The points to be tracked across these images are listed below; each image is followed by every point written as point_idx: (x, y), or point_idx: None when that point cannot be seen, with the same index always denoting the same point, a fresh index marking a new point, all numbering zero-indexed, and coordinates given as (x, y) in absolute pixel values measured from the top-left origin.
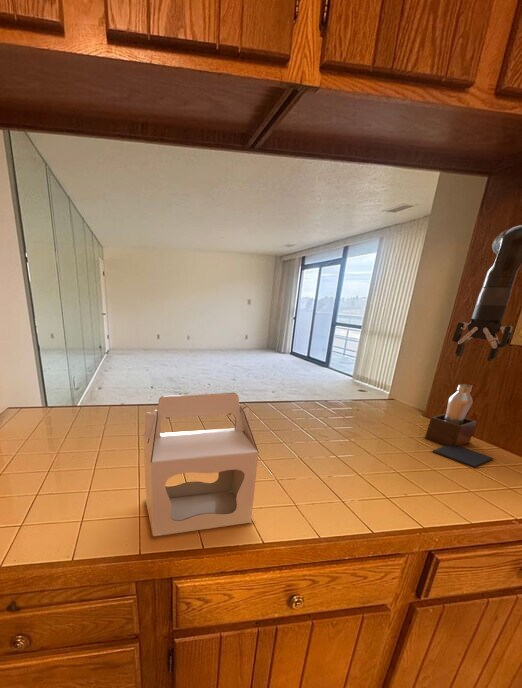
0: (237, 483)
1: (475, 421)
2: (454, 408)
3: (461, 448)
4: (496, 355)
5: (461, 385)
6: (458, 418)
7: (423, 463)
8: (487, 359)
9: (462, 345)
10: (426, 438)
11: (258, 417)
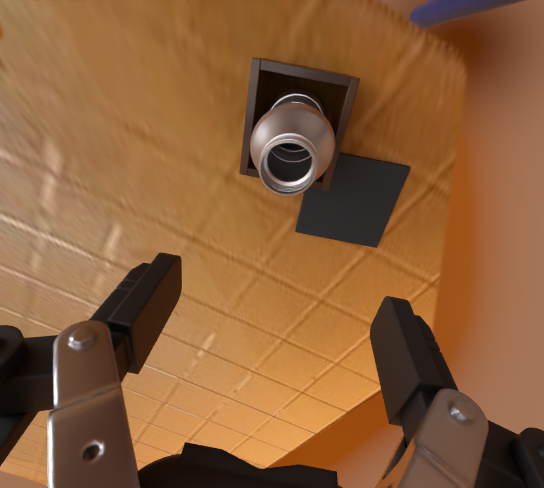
0: None
1: (355, 88)
2: (288, 174)
3: (340, 166)
4: (434, 344)
5: (267, 148)
6: (309, 156)
7: (300, 289)
8: (372, 337)
9: (141, 361)
10: None
11: (13, 311)
